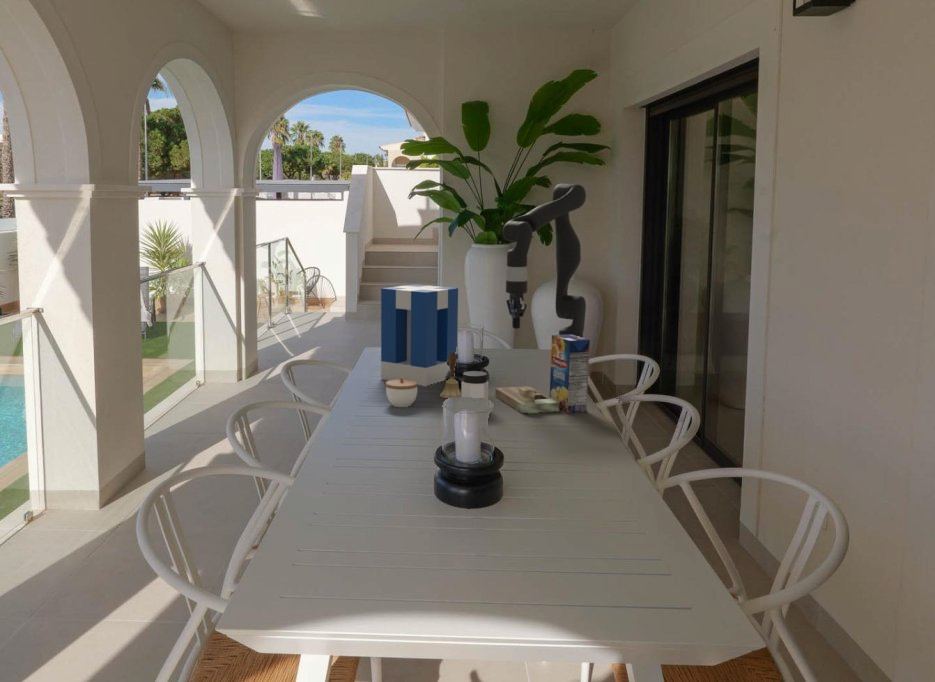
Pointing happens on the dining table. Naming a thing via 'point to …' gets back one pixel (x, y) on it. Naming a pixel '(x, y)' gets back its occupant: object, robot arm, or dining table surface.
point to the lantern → (418, 332)
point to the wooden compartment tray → (540, 404)
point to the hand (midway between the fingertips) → (516, 328)
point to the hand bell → (451, 381)
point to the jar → (475, 384)
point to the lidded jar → (401, 392)
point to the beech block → (527, 394)
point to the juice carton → (569, 372)
